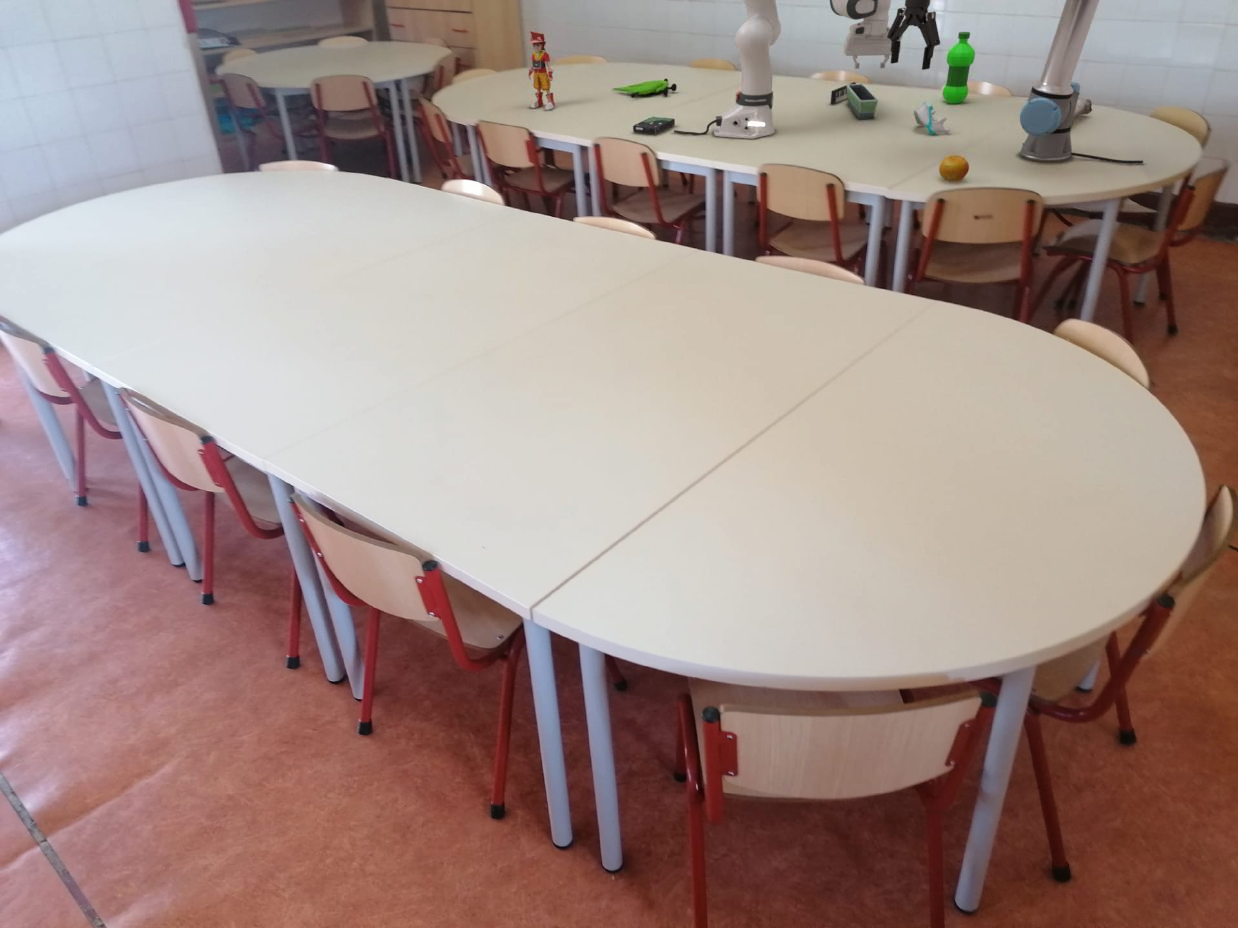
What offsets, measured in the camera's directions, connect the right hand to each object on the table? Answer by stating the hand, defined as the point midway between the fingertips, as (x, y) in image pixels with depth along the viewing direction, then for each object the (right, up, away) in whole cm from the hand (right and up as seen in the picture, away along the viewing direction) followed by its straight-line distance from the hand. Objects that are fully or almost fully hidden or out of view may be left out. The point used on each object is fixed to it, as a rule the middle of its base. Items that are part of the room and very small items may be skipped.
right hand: (909, 66), depth 291 cm
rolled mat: (+65, -7, +31) cm, 72 cm away
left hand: (-1, +18, +43) cm, 47 cm away
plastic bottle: (+38, +14, +64) cm, 76 cm away
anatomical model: (+18, -8, +33) cm, 39 cm away
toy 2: (-85, +36, +106) cm, 141 cm away
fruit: (+9, -41, -13) cm, 44 cm away
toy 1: (-127, +23, +92) cm, 159 cm away
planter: (0, +9, +60) cm, 61 cm away
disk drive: (-81, -1, +54) cm, 97 cm away
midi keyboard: (-3, +20, +76) cm, 79 cm away
